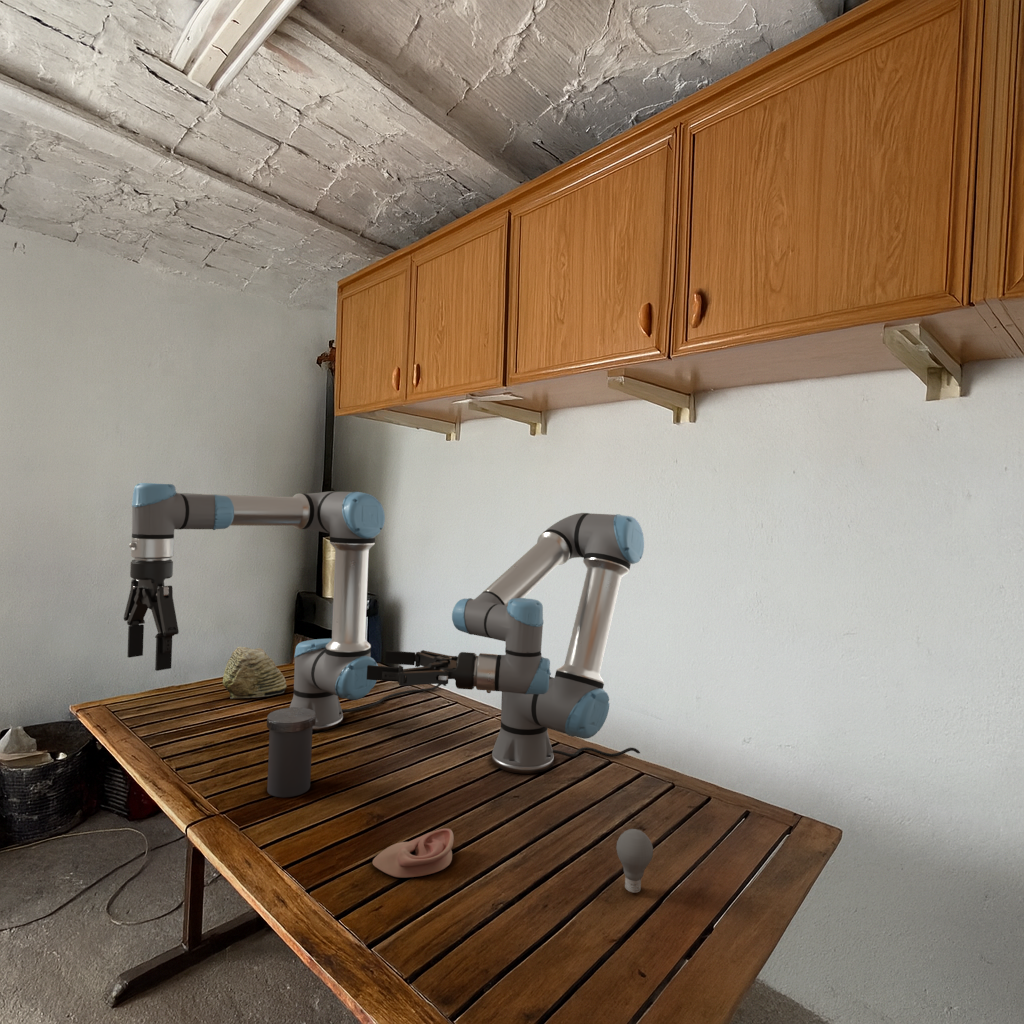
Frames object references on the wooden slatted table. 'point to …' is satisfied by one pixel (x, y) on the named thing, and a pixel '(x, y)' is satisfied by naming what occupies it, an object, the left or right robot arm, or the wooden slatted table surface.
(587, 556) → the right robot arm
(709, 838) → the wooden slatted table surface
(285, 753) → the jar
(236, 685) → the fossil
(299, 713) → the lid
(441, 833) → the anatomical model
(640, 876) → the light bulb
